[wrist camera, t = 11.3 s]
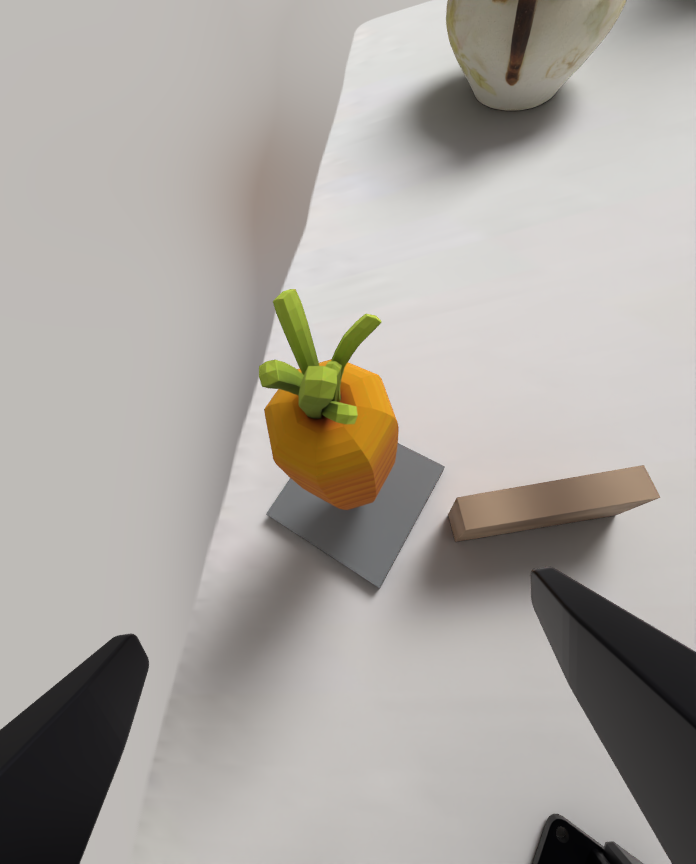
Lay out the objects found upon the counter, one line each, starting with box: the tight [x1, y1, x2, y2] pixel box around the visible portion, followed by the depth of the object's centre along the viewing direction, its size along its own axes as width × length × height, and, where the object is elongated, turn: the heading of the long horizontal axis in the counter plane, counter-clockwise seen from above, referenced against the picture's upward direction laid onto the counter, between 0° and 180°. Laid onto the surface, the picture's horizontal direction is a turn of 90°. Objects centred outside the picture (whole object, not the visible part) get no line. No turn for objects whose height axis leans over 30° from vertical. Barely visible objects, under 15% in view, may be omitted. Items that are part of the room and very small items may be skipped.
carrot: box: [259, 289, 399, 510], centre depth 16 cm, size 5×5×15 cm
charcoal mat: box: [267, 443, 444, 588], centre depth 23 cm, size 8×8×1 cm
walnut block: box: [448, 465, 660, 542], centre depth 20 cm, size 9×2×4 cm, turn 98°
